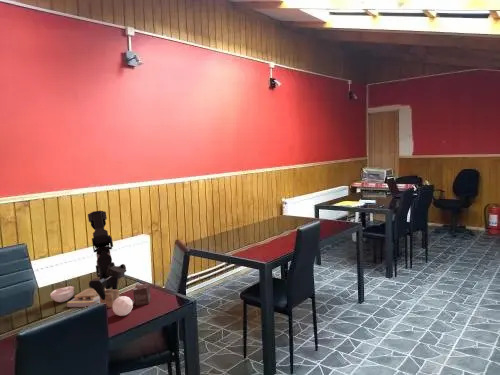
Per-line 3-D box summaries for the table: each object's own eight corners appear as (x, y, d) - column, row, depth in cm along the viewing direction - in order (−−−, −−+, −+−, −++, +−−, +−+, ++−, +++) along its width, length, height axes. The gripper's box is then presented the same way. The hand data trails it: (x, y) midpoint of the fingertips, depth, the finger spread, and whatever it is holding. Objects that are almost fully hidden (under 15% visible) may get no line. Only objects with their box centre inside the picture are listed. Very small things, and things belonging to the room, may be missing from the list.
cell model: (81, 295, 201) (79, 282, 200) (65, 305, 189) (62, 291, 189) (63, 296, 203) (61, 282, 203) (46, 305, 192) (43, 291, 191)
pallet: (88, 292, 199) (87, 288, 198) (106, 291, 196) (105, 287, 196) (74, 300, 189) (74, 296, 189) (93, 299, 187) (93, 295, 186)
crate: (108, 302, 187) (106, 289, 187) (120, 302, 186) (118, 289, 185) (101, 307, 182) (99, 294, 181) (113, 307, 180) (111, 294, 179)
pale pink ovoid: (105, 310, 167) (120, 302, 179) (120, 322, 165) (135, 313, 177) (114, 295, 166) (128, 287, 178) (130, 306, 165) (143, 298, 176)
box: (151, 299, 185) (149, 283, 184) (148, 304, 179) (146, 288, 178) (138, 300, 185) (136, 285, 184) (134, 306, 179) (132, 289, 178)
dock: (88, 293, 202) (88, 289, 202) (114, 293, 199) (113, 289, 199) (67, 307, 187) (66, 302, 187) (94, 306, 183) (93, 302, 183)
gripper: (108, 267, 171) (114, 303, 172) (131, 255, 189) (136, 287, 190) (85, 268, 174) (91, 304, 175) (110, 256, 192) (114, 288, 193)
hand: (109, 295), depth 183 cm, fingers open, 9 cm apart
